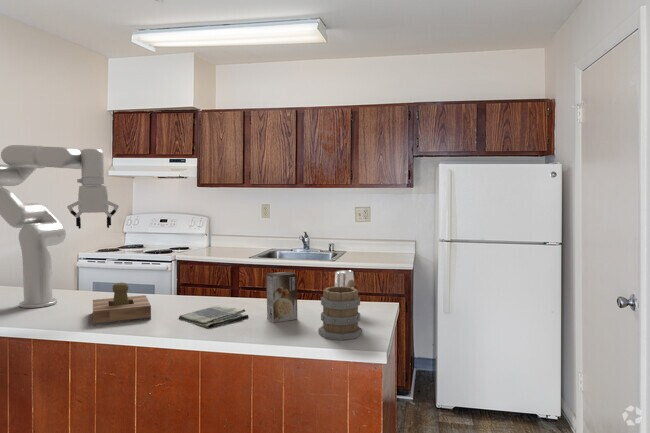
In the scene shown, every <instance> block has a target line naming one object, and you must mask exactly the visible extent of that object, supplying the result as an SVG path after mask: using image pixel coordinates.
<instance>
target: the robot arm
mask: <svg viewBox="0 0 650 433" xmlns="http://www.w3.org/2000/svg"><path fill="white" fill-rule="evenodd" d="M0 159H1V160H2V162H3V163H4V164H1V163H0V216H1V218H2V219H3V220H4V221H5V222H6V223H7V224H8V225H9V226H10V227H12V228H15V229H20V230H19V232H18V241H19V242H18V243H19V246H20V249H21V255H22V256H21V258H22V260H21V261H22V277H23V279H22V280H23V284H22V285H23V300H22V301H20V302H19V303H18V306H19V307H20V308H24V309H35V308H43V307H49V306H53V305H55V304H56V303H58V299H57V298H54V297H53V276H52V273H53V270H52V256H51V253H50V251H49V249H48V247H51V246H57V245H60V244H62V243H63V242H64V241H65V239H66V236H67V233H66V229H65V226H64V225H62V223H61V222H60V221H59V220H58V219H57V218H56V217H55V215H53V213H52V212H50V210H49V209H48V208H47V207H45V205H44V206H43V205H42V204H39V203H32V202H31V203H27V202H26V203H25V202H22V201H21V200H20V199H19V198H18V197H17V195H15V194H14V193H13V192H12V191H10V190H9V189H7V188H6V187H16V186H19V185H22V183H24V182H25V181H26V180H27V179H28V177H30V176H31V175H32V174H33V173H34V172H35V171H36V169H45V168H54V169H56V168H57V169H58V168H59V169H75V170H81V174H80V175H81V178H77V179H76V180H77V181H76V182H77V183H78V184H81V185H79V187H78V194H77V196H78V197H77V201H75V202H73V203H70V204H69V205H67V206H66V207H67V209H68V211H69V212H70V214H71V215H72V216H73V217H75V222H76V224H75V226H76V227H77V228H78V229H80V230H81V228H82V224H81V223H82V220H81V215H82V214H84V213H85V214H90V213H93V214H96V213H104V214H105V215H107V216H106V228H107V229H109V228H110V226H112V216H114V215H115V214H116V213H117V211H118V209H119V207H120V206H119V205H118V204H116V203H115V202H112V201H110V200H109V194H108V189H107V186H106V185H105V178H104V177H105V171H104V170H105V169H104V166H105V165H104V162H105V161H104V152H103V150H102V149H99V148H83V149H81V148H80V149H79V148H72V147H63V146H62V147H61V146H43V145H31V144H30V145H24V144H11V145H8V146H5V147H4V148H3V149H2V150H1V152H0ZM76 206H77V208H78V209H77V210H78V212H76V211H75V210H74V209H73V208H74V207H76ZM109 206H111V207H112V210H111V211H109Z"/></svg>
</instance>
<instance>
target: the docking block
mask: <svg viewBox="0 0 650 433" xmlns="http://www.w3.org/2000/svg"><path fill="white" fill-rule="evenodd" d="M113 300H114V297H110V298H97V299H92V326H102V325H112V324H120V323H129V322H137V321H138V322H140V321H149V320H152V306H151V303H150V301H149V299H148V297H147V295H145V294H144V295H143V294H142V295H132V296H131V295H130V296H128V302H129V304H128V305H118V306H113Z"/></svg>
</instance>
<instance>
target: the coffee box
mask: <svg viewBox="0 0 650 433" xmlns="http://www.w3.org/2000/svg"><path fill="white" fill-rule="evenodd" d="M297 275H298V274H297V273H295V272H294V271H293V272H292V271H277V272H267V273H266V319H267V320H269V321H270V322H272V323H279V322H280V323H282V322H287V321H293V320H298V276H297Z"/></svg>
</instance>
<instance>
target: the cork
mask: <svg viewBox="0 0 650 433" xmlns="http://www.w3.org/2000/svg"><path fill="white" fill-rule="evenodd" d="M112 291H113V292H112V293H114V294H113V298H114V300H113V306H118V305H128V304H129V302H128V297H129V296H128V291H129V285H128V283H127V282H116V283H114V284H113V285H112Z"/></svg>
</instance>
